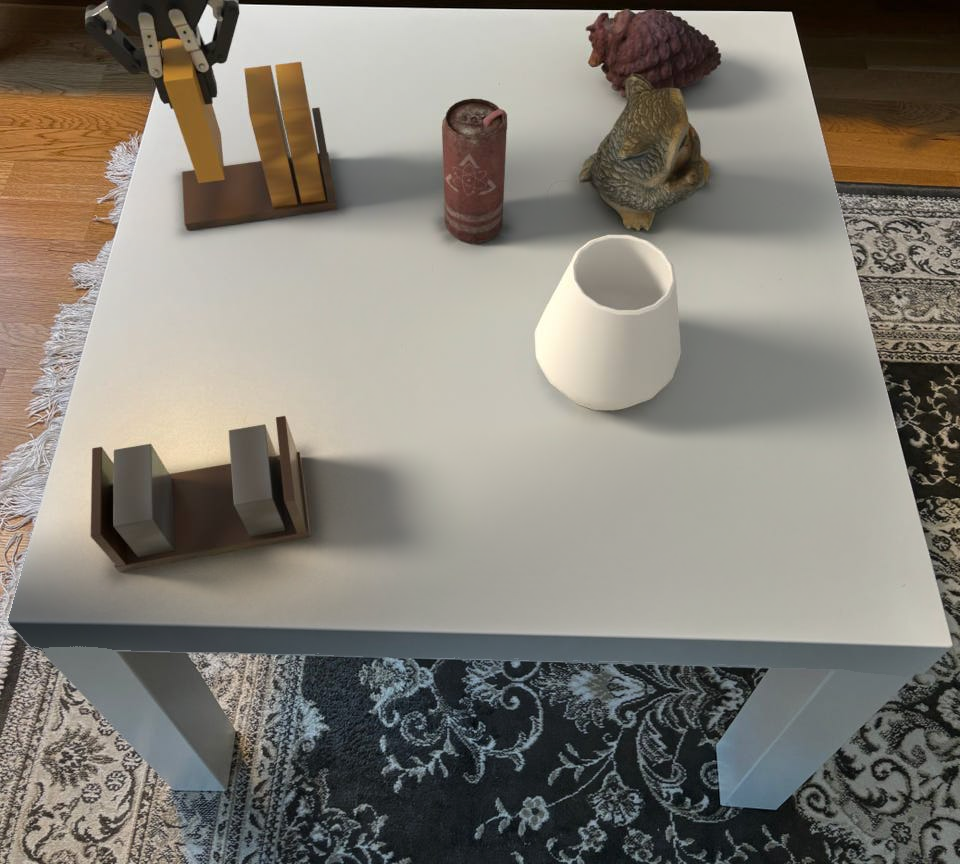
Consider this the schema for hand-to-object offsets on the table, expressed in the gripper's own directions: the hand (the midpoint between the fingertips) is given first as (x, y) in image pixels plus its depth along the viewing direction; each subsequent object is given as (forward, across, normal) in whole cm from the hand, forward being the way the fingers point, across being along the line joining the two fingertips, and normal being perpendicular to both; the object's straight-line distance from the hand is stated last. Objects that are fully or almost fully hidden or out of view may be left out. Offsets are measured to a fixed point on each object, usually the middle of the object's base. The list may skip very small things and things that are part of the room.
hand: (191, 100), depth 85 cm
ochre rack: (+13, -4, 0) cm, 13 cm away
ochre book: (+7, 0, 0) cm, 7 cm away
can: (+13, -26, +9) cm, 30 cm away
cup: (+13, -34, +30) cm, 47 cm away
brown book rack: (+13, +3, +38) cm, 40 cm away
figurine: (+13, -45, +9) cm, 48 cm away
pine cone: (+13, -51, -9) cm, 53 cm away
